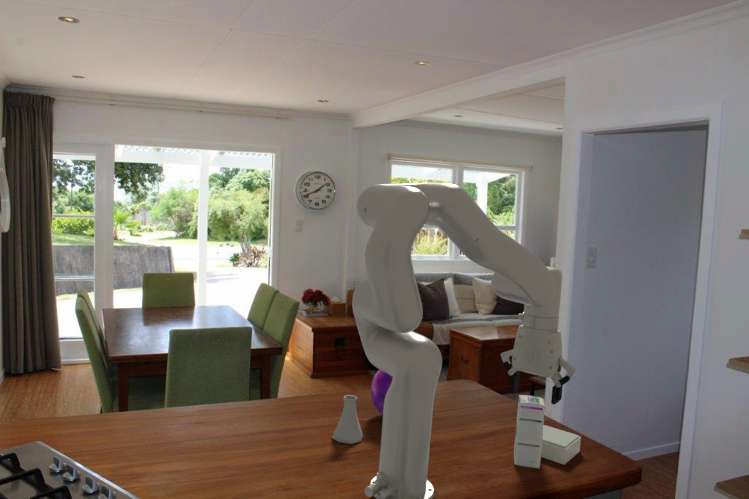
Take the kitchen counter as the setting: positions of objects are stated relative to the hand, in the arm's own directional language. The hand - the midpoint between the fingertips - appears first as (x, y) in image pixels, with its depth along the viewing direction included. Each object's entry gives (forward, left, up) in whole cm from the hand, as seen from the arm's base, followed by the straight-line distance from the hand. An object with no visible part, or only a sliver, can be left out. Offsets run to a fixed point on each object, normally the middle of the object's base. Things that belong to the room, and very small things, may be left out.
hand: (534, 397), depth 137 cm
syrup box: (-1, 0, -15) cm, 15 cm away
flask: (-21, +36, -15) cm, 44 cm away
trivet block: (+9, -2, -15) cm, 18 cm away
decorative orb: (-2, +35, -15) cm, 38 cm away
